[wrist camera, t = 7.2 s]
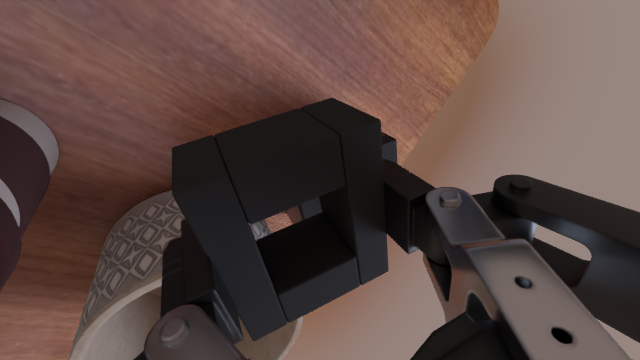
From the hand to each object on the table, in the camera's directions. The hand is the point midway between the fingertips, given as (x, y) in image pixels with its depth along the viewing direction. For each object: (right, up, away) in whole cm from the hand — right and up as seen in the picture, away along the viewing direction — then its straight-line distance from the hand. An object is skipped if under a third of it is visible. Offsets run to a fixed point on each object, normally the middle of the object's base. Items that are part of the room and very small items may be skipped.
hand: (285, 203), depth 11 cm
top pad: (0, 0, 0) cm, 0 cm away
